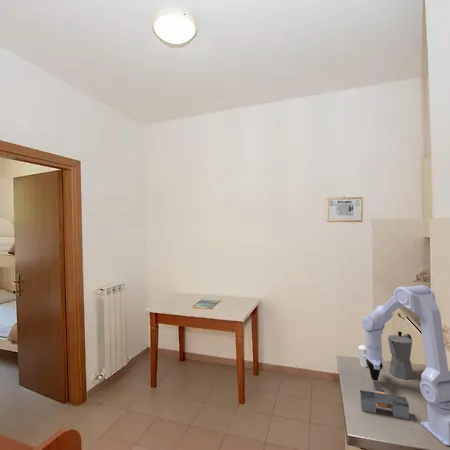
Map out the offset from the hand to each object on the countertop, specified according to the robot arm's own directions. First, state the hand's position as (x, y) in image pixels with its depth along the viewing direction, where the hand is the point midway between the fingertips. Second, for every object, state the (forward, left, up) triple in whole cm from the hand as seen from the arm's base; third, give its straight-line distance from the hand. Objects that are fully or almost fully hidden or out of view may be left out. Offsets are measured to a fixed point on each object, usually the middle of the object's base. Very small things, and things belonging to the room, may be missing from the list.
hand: (374, 379), depth 113 cm
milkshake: (+14, -4, -2) cm, 15 cm away
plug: (-9, +4, -2) cm, 10 cm away
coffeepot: (+6, -16, -2) cm, 18 cm away
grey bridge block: (-17, +8, -1) cm, 19 cm away
